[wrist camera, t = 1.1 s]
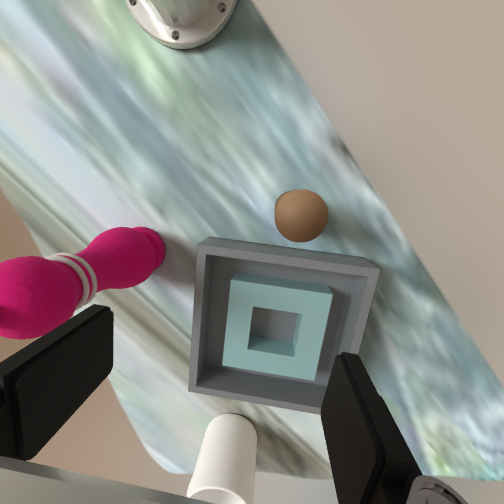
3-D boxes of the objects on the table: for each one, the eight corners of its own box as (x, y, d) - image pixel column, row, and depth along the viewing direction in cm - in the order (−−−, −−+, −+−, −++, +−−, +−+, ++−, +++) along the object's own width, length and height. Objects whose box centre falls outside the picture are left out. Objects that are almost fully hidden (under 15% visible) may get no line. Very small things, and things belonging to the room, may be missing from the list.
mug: (216, 469, 41) (197, 557, 31) (182, 438, 41) (151, 518, 31) (268, 436, 39) (266, 520, 29) (232, 402, 38) (217, 477, 28)
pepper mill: (176, 235, 32) (27, 298, 13) (160, 282, 34) (9, 398, 15) (126, 214, 32) (-98, 245, 13) (113, 262, 34) (-101, 351, 15)
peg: (277, 189, 30) (278, 186, 18) (310, 193, 29) (332, 193, 18) (272, 221, 31) (271, 238, 19) (304, 225, 30) (322, 245, 19)
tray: (209, 236, 32) (197, 244, 27) (363, 257, 31) (380, 269, 26) (199, 365, 37) (188, 391, 32) (332, 387, 35) (341, 418, 31)
